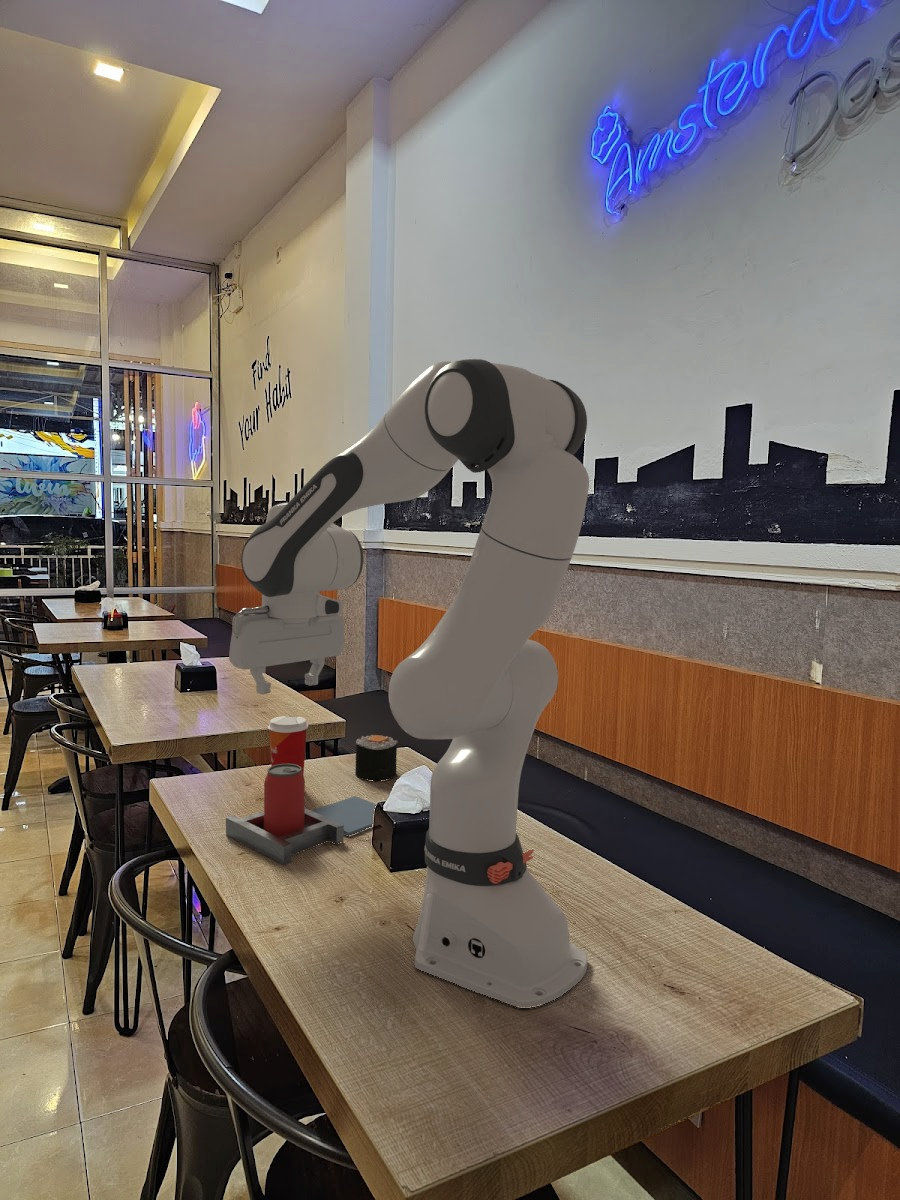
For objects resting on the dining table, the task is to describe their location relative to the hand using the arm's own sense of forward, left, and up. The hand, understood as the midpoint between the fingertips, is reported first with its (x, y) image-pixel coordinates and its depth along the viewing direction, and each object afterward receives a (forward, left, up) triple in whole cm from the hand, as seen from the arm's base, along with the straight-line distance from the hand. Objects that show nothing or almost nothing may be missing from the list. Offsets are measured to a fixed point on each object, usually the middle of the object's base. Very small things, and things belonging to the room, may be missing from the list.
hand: (288, 688), depth 125 cm
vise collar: (+1, 0, -26) cm, 26 cm away
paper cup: (+19, -14, -26) cm, 35 cm away
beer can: (+1, 0, -26) cm, 26 cm away
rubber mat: (0, -14, -26) cm, 29 cm away
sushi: (+14, -33, -26) cm, 44 cm away
